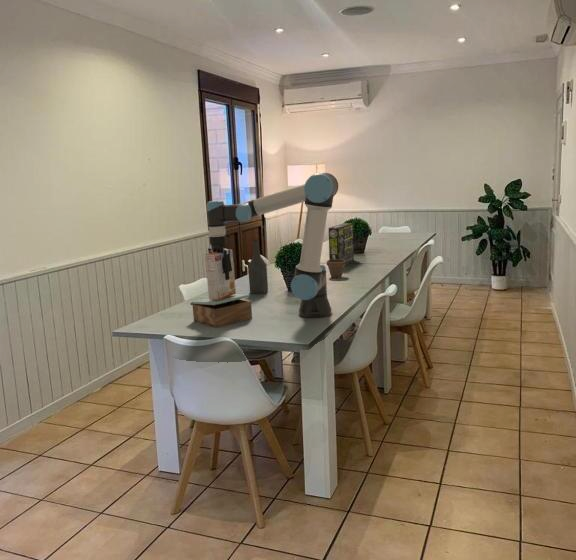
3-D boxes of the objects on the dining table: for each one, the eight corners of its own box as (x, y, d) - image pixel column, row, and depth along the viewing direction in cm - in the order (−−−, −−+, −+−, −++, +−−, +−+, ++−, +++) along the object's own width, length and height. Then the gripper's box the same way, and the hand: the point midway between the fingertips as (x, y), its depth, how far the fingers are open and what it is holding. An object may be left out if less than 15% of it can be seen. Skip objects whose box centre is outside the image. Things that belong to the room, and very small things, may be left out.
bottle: (251, 290, 330) (247, 237, 324) (268, 290, 329) (265, 237, 323) (249, 294, 319) (245, 240, 314) (267, 293, 319) (263, 239, 313)
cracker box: (225, 293, 273) (222, 249, 269) (236, 294, 271) (233, 249, 266) (207, 299, 261) (204, 253, 257) (218, 300, 259) (215, 254, 254)
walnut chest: (252, 318, 269) (251, 299, 267) (215, 327, 255) (214, 308, 254) (228, 311, 283) (226, 294, 281) (192, 320, 270) (190, 302, 268)
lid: (250, 296, 267) (249, 294, 267) (214, 305, 254) (214, 302, 254) (227, 295, 280) (227, 293, 280) (192, 303, 267) (192, 301, 267)
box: (344, 260, 417) (343, 222, 412) (354, 260, 414) (353, 222, 409) (329, 268, 387) (327, 228, 382) (340, 268, 384) (338, 228, 379)
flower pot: (350, 276, 355) (349, 260, 353) (337, 279, 348) (336, 262, 346) (336, 274, 364) (335, 258, 362) (323, 277, 356) (322, 261, 354)
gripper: (237, 235, 256) (241, 286, 260) (211, 233, 271) (215, 282, 275) (223, 237, 251) (227, 289, 255) (198, 235, 266) (202, 284, 270)
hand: (221, 285), depth 265 cm, fingers closed on cracker box, 7 cm apart
